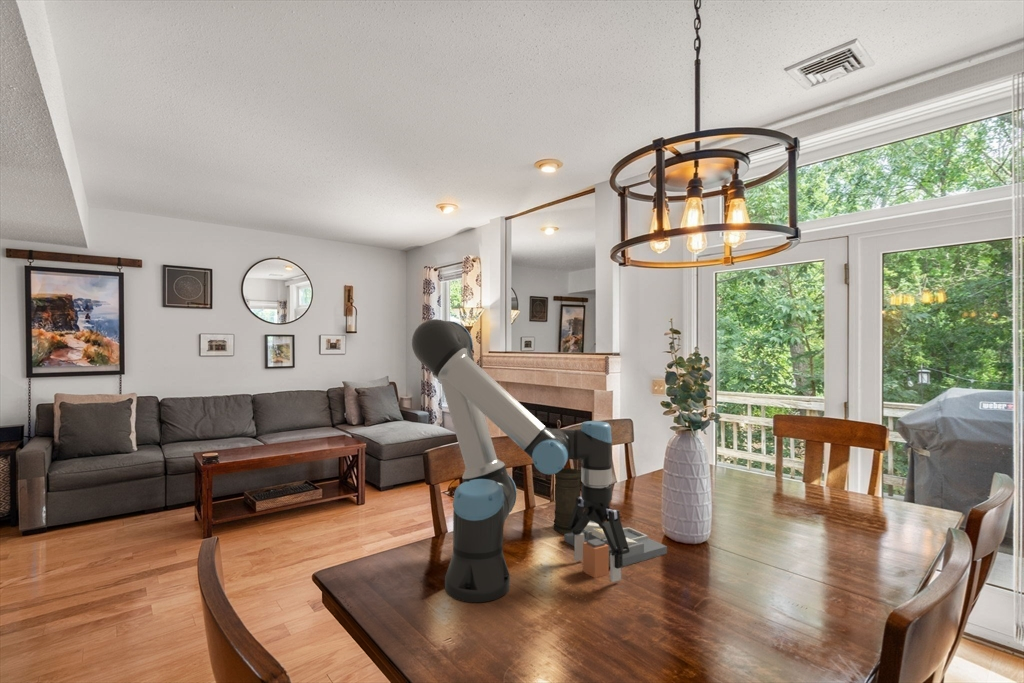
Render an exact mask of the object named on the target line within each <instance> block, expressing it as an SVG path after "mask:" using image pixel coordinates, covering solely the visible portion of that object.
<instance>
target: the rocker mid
mask: <svg viewBox="0 0 1024 683" xmlns="http://www.w3.org/2000/svg"><path fill="white" fill-rule="evenodd" d="M592 535H594V536H596V537H598V538H600V539H607V538H606V536H605V534H604V532H603V529H592Z"/></svg>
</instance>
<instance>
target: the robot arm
mask: <svg viewBox="0 0 1024 683" xmlns="http://www.w3.org/2000/svg"><path fill="white" fill-rule="evenodd" d="M411 347H412V351H413V354H414V355H415V357H416V358H417V359H418V361H419V362H420V363H421V364H422V365H424V367H426V368H427V369H428V370H429V371H430V372H431V374H432V377H433V378H435V379H437V380H438V381H439V382H440V384H441V387H442V391H443V394H444V398H445V401H446V406H447V407H448V408H447V409H448V412H449V415H450V419H451V421H452V422H451V423H452V425H453V429H454V432H455V436H456V440H457V442H458V447H459V449H460V453H461V456H462V459H463V463H464V468H465V470H464V472H463V474H462V476H461V477H462V481H463V482H462V483H460V484H458V486H457V487H456V488H455V490H454V492H453V500H452V507H453V508H452V509H453V516H452V517H453V519H452V520H453V522H452V523H453V524H452V526H453V528H452V531H453V532H452V533H453V535H452V537H453V538H452V555H451V558H450V562H449V564H448V567H447V571H446V573H445V576H444V590H445V593H446V594H447V595H448V596H449V597H452V598H453V599H456V600H458V601H463V602H465V603H466V602H467V603H486V602H490V601H491V602H492V601H495V600H497V599H501V598H502V597H503V596H505V595H506V594H507V593H508V592H509V590H510V586H511V575H510V571H509V569H508V565H507V563H506V559H505V555H504V523H505V521H506V519H507V518H508V516H509V514H510V513H511V512H512V511H513V508H514V507H515V505H516V501H517V493H518V492H517V491H518V490H517V486H516V483H515V480H513V478H512V477H511V476H510V474H508V470H507V468H506V464H505V462H503V461H502V460H500V459H498V456H497V454H496V450H495V447H494V443H493V440H492V437H491V433H490V430H489V426H488V423H487V420H486V417H487V418H488V419H489V420H490V421H491V422H492V423H493V424H494V425H495V426H496V427H497V428H499V429H500V430H501V432H503V433H504V434H505V435H506V436H507V437H508V438H509V439H511V441H513V442H514V443H515V444H516V445H517V446H518V447H519V448H520V449H521V450H523V451H524V453H526V454H527V456H529V457H530V458H531V460H532V463H533V465H534V467H535V468H536V470H537V471H538V472H540V473H542V474H544V475H555V473H557V472H559V471H560V470H562V468H565V466H566V465H567V462H568V460H579V461H581V466H580V467H581V468H580V471H581V476H580V477H581V479H580V482H582V484H580V485H581V486H580V497H577V498H576V501H575V507H574V510H573V513H572V516H571V519H570V521H569V524H568V528H569V529H571V530H572V533H573V534H574V546H573V547H574V549H573V550H574V561H575V562H579V561H581V560H582V561H583V543H584V534H583V533H581V532H584V528H585V527H586V526H587V524H588V523H589V521H594V522H595V523H597V524H599V527H601V528H602V529H603V532H604V534H605V536H606V538H607V540H608V543H609V545H610V547H611V549H612V552H613V553H610V566H609V568H610V569H609V571H610V572H609V578H610V579H609V580H610V582H611V583H615V582H618V581H621V580H622V568H623V567H622V566H623V562H622V561H623V559H622V556H623V554H626V553H629V547H628V544H627V541H626V537H625V534H624V531H623V528H622V527H623V525H622V522H621V516H620V515H621V514H620V510H619V509H618V508H617V509H611V508H610V503H611V501H612V498H613V492H612V491H613V487H612V485H611V484H612V483H613V482H612V480H613V479H612V478H613V477H612V476H613V475H612V474H613V473H612V472H613V471H612V463H613V462H612V460H613V459H612V457H613V456H612V451H613V446H612V443H613V440H612V426H611V425H610V423H609V422H605V421H601V420H587V421H583V422H582V423H581V426H580V428H579V429H566V428H550V427H546V425H544V423H543V422H541V420H539V418H537V417H536V416H535V415H533V414H532V413H531V412H530V411H529V410H528V409H527V408H526V407H525V406H523V404H522V403H520V402H519V401H518V400H517V399H516V398H515V397H514V396H513V395H511V394H510V393H509V392H508V390H506V388H504V387H503V386H502V385H500V384H499V382H497V381H496V380H495V379H494V378H493V377H492V376H490V374H489V373H487V372H486V371H485V370H484V369H483V368H482V367H481V366H479V365H478V364H477V363H476V362H475V359H474V355H473V349H474V343H473V337H472V335H471V333H470V332H469V331H468V329H467V328H466V327H464V326H463V325H462V324H460V323H457V322H456V321H451V320H443V319H429V320H425V321H424V322H422V323H421V324H419V325H418V327H417V328H416V329H415V330H414V331H413V335H412V338H411ZM616 547H617V549H616Z"/></svg>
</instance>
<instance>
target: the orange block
mask: <svg viewBox="0 0 1024 683" xmlns="http://www.w3.org/2000/svg"><path fill="white" fill-rule="evenodd" d="M609 568H610V566H609V546H608V545H606V544H605V543H604V542H602V541H600V540H598V539H593V540H589V541H587V542H585V543H583V559H582V571H583V573H585V574H587V575H589V576H591V577H592V578H593V579H597V578H600V577H604V576H607V575H610V572H609V571H610V569H609Z"/></svg>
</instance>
